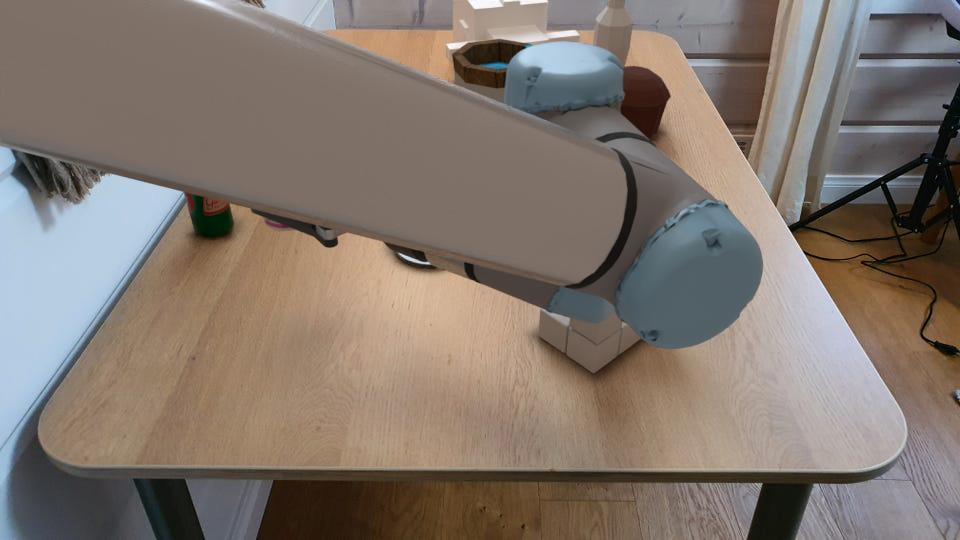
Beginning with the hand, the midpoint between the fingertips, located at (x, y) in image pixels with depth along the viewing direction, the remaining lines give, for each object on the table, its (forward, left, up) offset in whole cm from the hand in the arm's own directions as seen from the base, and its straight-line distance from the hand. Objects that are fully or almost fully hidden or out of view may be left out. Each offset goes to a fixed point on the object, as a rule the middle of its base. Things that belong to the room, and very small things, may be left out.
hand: (238, 149), depth 69 cm
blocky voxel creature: (+51, +59, -22) cm, 81 cm away
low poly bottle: (+67, +49, -22) cm, 85 cm away
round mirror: (+21, +9, -21) cm, 31 cm away
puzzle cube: (+33, -11, -22) cm, 41 cm away
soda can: (-5, +22, -22) cm, 31 cm away
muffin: (+61, +30, -22) cm, 71 cm away
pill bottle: (+3, -4, -6) cm, 8 cm away
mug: (+41, +30, -22) cm, 55 cm away
